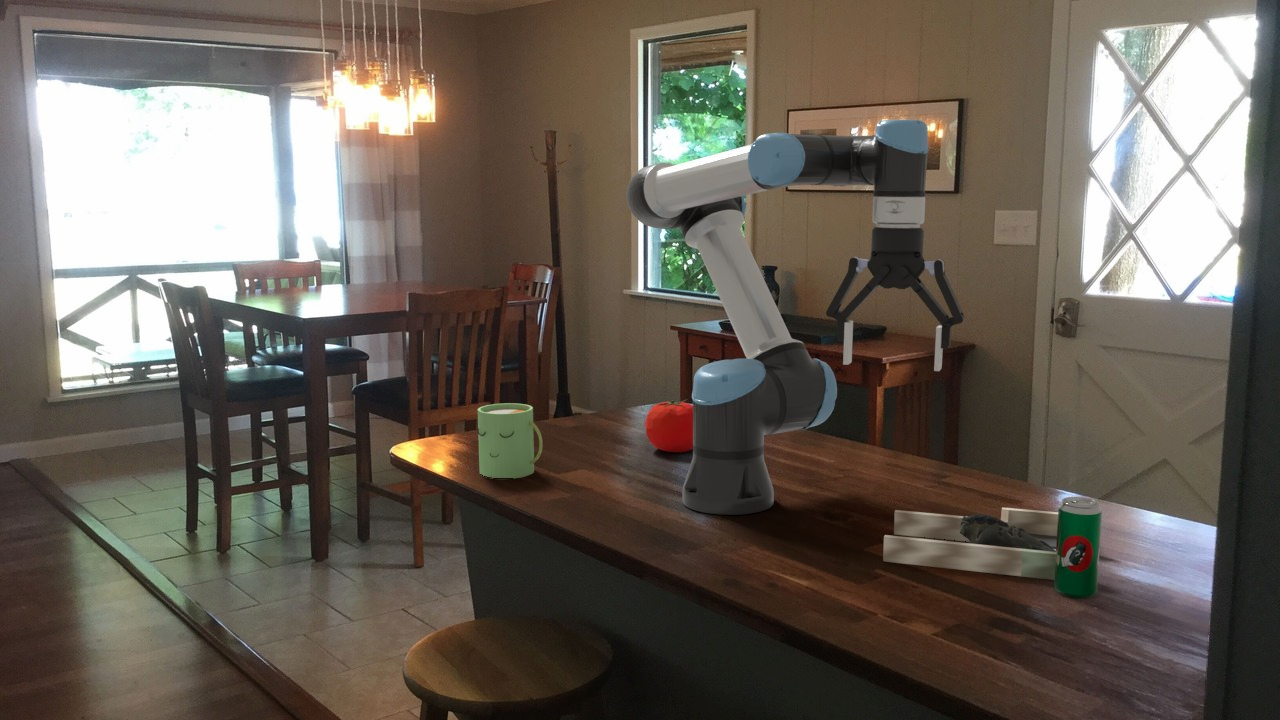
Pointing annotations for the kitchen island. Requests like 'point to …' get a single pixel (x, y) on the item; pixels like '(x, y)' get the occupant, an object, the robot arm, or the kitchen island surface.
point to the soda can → (1077, 547)
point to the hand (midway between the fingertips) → (891, 366)
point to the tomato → (671, 426)
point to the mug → (507, 440)
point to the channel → (972, 555)
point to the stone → (998, 534)
